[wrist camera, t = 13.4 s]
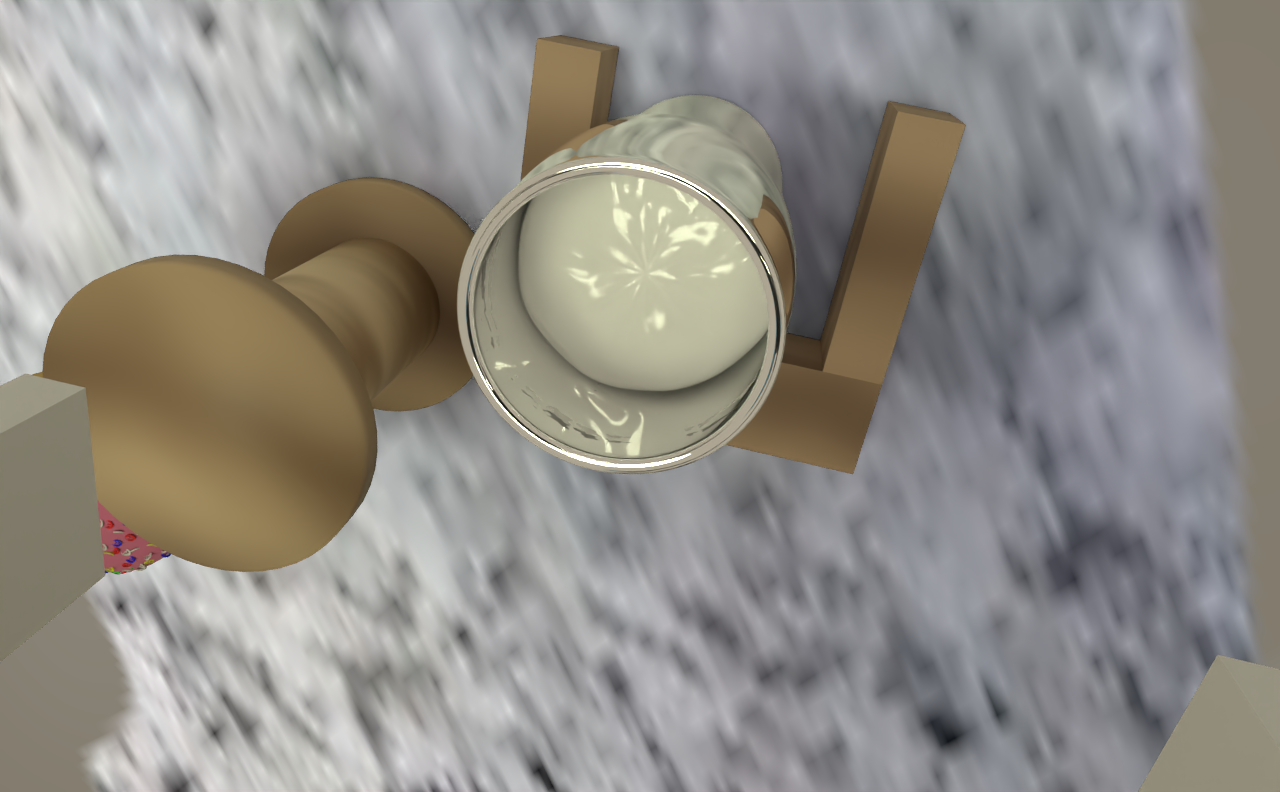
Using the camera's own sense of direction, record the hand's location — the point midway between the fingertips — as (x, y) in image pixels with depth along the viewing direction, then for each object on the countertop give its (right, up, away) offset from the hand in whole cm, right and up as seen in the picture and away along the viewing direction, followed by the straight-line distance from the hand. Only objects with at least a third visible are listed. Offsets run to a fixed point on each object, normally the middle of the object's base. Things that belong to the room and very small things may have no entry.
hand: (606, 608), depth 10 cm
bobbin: (-9, +6, +24) cm, 27 cm away
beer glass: (+2, +10, +21) cm, 23 cm away
